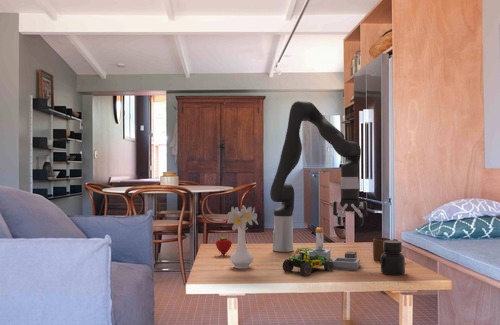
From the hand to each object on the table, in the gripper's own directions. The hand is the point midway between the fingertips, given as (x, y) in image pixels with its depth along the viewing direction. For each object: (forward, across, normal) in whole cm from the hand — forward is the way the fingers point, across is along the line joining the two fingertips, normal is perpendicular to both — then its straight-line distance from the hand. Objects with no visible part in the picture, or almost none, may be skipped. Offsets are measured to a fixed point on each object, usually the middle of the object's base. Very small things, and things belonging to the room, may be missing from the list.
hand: (350, 225), depth 196 cm
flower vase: (+16, -40, -24) cm, 49 cm away
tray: (+16, -1, -10) cm, 19 cm away
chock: (+16, 0, 0) cm, 16 cm away
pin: (+16, -14, +3) cm, 21 cm away
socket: (+16, -14, +3) cm, 21 cm away
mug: (+16, +14, +11) cm, 24 cm away
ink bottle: (+16, +18, -15) cm, 28 cm away
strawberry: (+15, -59, 0) cm, 61 cm away
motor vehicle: (+16, -14, -21) cm, 30 cm away
